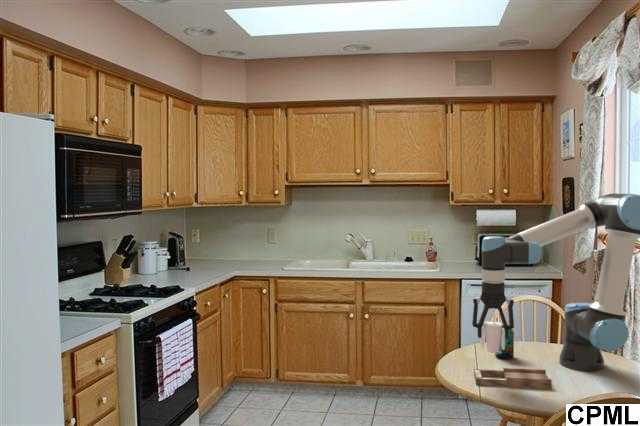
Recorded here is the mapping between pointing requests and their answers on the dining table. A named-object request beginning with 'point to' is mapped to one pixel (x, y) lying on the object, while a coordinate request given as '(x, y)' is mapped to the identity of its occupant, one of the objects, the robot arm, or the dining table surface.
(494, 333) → the smoothie
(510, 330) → the beverage can
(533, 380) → the rail board
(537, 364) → the dining table surface
